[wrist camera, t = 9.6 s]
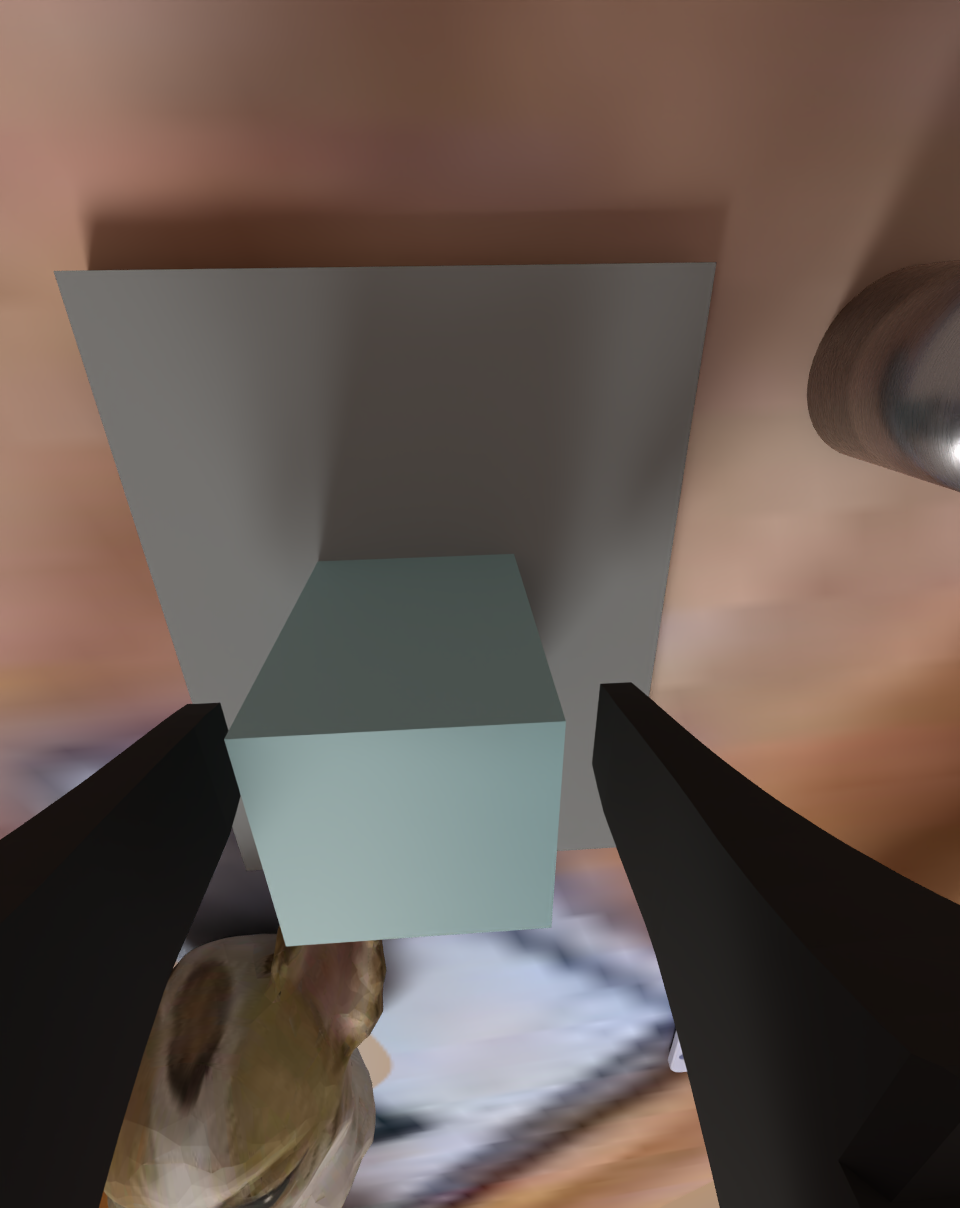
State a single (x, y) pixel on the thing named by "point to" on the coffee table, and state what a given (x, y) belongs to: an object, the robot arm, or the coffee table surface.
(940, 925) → the robot arm
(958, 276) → the grey metal ball
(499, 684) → the teal block
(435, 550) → the slate mat
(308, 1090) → the ceramic sculpture
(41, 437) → the coffee table surface
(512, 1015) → the coffee table surface
